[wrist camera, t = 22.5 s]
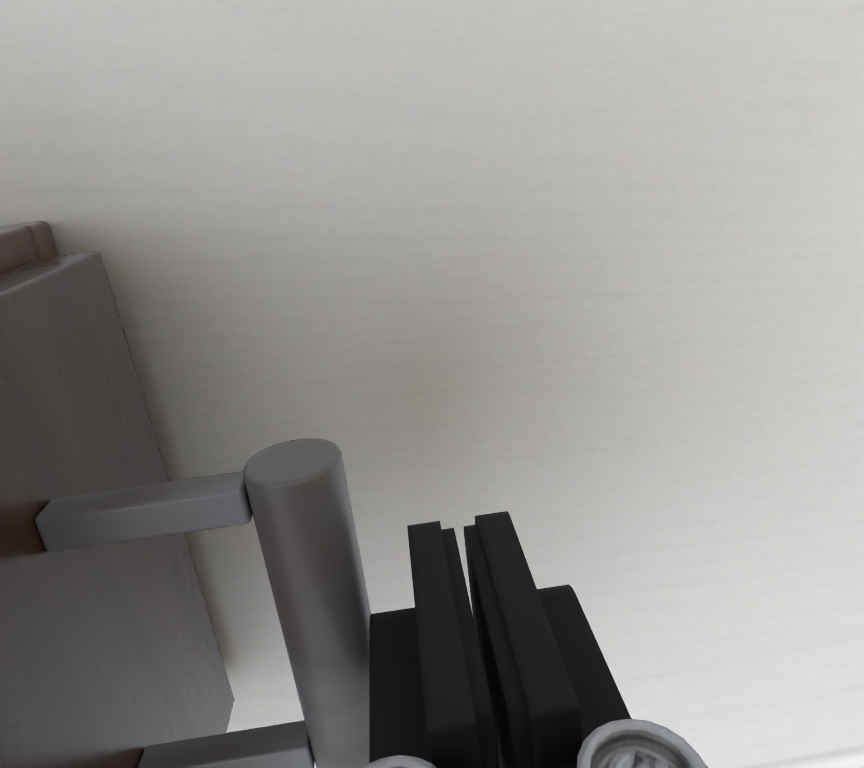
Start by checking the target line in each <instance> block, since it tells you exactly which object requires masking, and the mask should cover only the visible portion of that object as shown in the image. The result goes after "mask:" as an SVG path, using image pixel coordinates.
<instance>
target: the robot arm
mask: <svg viewBox="0 0 864 768" xmlns="http://www.w3.org/2000/svg"><path fill="white" fill-rule="evenodd" d="M407 527H408V538H409V548H410V558H411V569H412V579H413V589H414V600H415V608H409V609H403V610H396V611H389V612H382V613H376V614H370V619H369V764H367V765H365V766H363V767H362V768H708V767H707V766H706V764H705V763H704V762H703V760H702V759H701V757H700V756H699V755H698V753H697V752H696V751H695V750H694V749H693V748H692V747H691V746H690V745H689V744H688V743H687V742H686V741H685V740H684V739H683V738H682V737H680V736H679V735H677V734H676V733H674V732H673V731H671V730H669V729H668V728H666V727H663V726H661V725H658V724H655V723H652V722H650V721H645V720H636V719H631V717H630V715H629V713H628V710H627V708H626V706H625V704H624V701H623V699H622V697H621V695H620V692H619V690H618V688H617V686H616V684H615V681H614V679H613V677H612V675H611V672H610V670H609V668H608V666H607V663H606V661H605V659H604V657H603V654H602V652H601V650H600V648H599V646H598V643H597V641H596V639H595V637H594V634H593V632H592V630H591V628H590V625H589V623H588V621H587V619H586V616H585V614H584V612H583V610H582V608H581V605H580V603H579V601H578V599H577V596H576V594H575V592H574V590H573V589H572V587H571V586H570V585H563V586H556V587H550V588H543V589H536V586H535V583H534V580H533V578H532V575H531V572H530V570H529V567H528V564H527V561H526V559H525V556H524V553H523V550H522V548H521V545H520V542H519V540H518V537H517V534H516V531H515V529H514V526H513V523H512V521H511V518H510V515H509V513H508V512H507V511H506V512H499V513H492V514H485V515H478V516H475V525H471V526H464V537H465V547H466V556H467V565H468V575H469V584H470V593H471V602H472V611H471V606H470V601H469V597H468V592H467V587H466V583H465V578H464V573H463V569H462V564H461V559H460V555H459V550H458V545H457V541H456V536H455V531H454V528H450V529H443V530H441V526H440V521H436V522H429V523H422V524H415V525H408V526H407ZM472 612H473V615H472Z"/></svg>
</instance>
